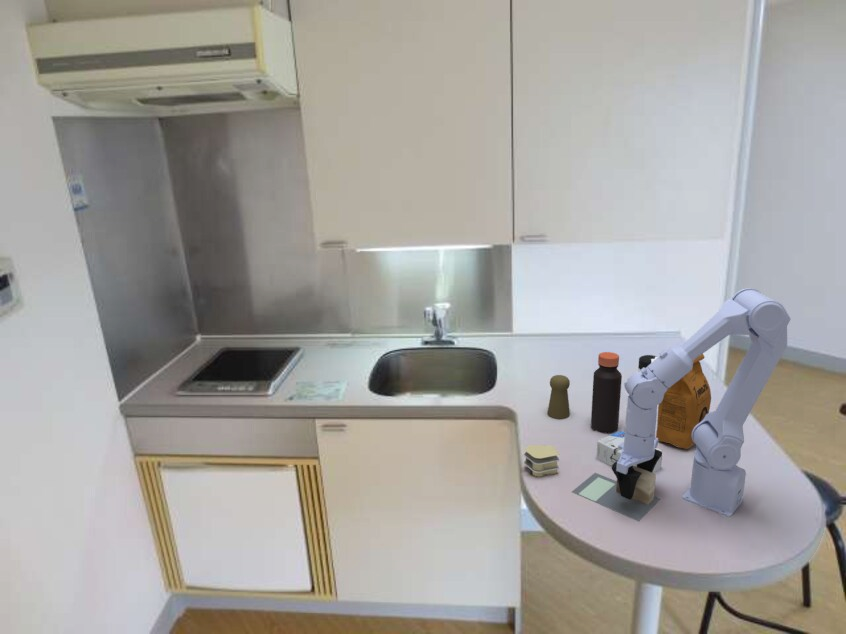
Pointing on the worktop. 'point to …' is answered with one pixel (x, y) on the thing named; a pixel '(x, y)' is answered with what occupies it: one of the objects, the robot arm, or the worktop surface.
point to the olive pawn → (559, 397)
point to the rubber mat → (612, 497)
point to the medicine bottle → (645, 361)
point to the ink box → (615, 450)
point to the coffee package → (684, 407)
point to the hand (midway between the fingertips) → (635, 489)
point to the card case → (643, 486)
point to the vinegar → (606, 394)
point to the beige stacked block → (541, 459)
